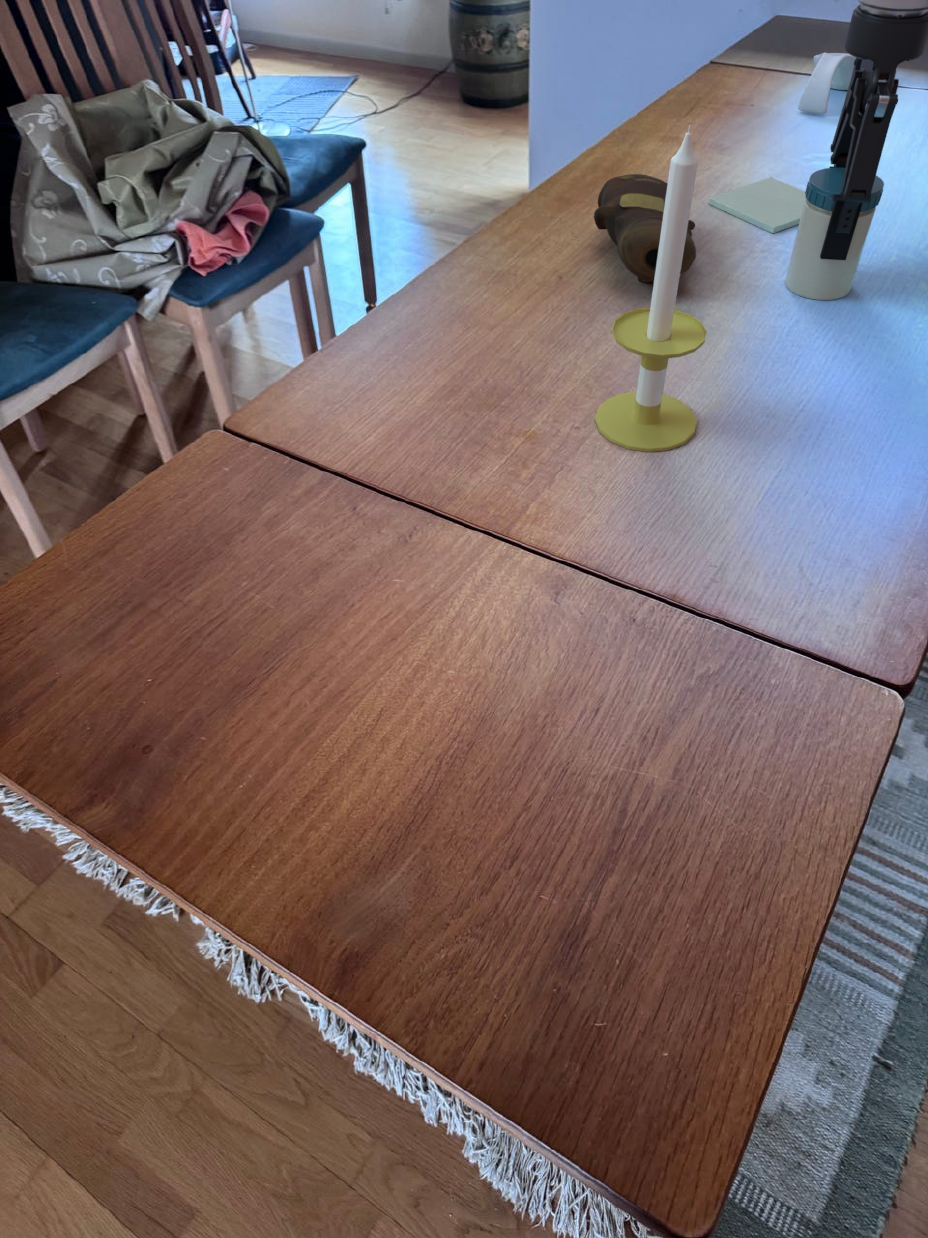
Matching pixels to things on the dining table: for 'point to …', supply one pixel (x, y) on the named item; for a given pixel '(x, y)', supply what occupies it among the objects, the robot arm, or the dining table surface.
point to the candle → (658, 333)
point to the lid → (836, 189)
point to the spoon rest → (826, 80)
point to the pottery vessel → (638, 222)
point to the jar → (823, 274)
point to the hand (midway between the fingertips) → (829, 241)
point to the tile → (764, 204)
